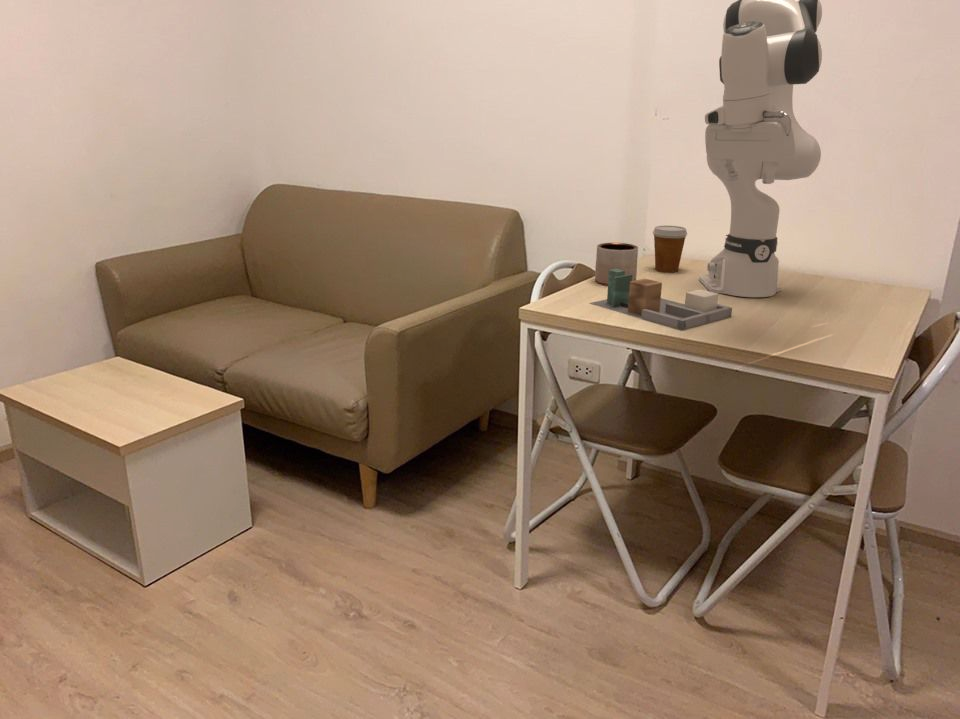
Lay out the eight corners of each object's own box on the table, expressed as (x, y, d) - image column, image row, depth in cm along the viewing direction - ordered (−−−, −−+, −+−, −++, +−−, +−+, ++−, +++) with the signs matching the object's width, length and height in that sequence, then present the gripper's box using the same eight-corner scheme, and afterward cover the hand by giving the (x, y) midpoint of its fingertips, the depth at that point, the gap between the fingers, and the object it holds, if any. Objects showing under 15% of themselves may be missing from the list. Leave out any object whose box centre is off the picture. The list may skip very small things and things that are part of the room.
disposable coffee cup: (687, 274, 214) (692, 231, 210) (653, 273, 214) (657, 230, 210) (678, 266, 223) (682, 225, 219) (646, 266, 223) (649, 225, 219)
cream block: (683, 314, 173) (686, 292, 172) (697, 310, 176) (699, 289, 175) (702, 319, 170) (704, 297, 168) (716, 315, 172) (718, 293, 171)
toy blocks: (602, 304, 181) (604, 270, 178) (619, 300, 184) (621, 267, 181) (643, 316, 171) (646, 281, 168) (660, 312, 174) (663, 278, 172)
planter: (598, 286, 199) (600, 250, 196) (591, 277, 210) (593, 242, 206) (639, 286, 200) (642, 250, 196) (631, 277, 210) (633, 242, 207)
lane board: (588, 305, 182) (589, 295, 181) (638, 294, 192) (639, 284, 191) (681, 332, 162) (682, 321, 161) (731, 318, 172) (732, 307, 171)
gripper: (802, 107, 144) (803, 181, 149) (721, 109, 161) (724, 175, 166) (778, 114, 141) (780, 188, 146) (698, 115, 158) (702, 182, 163)
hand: (750, 181), depth 156 cm, fingers open, 8 cm apart
